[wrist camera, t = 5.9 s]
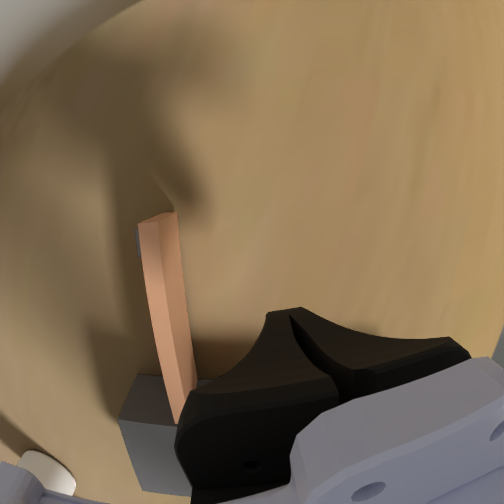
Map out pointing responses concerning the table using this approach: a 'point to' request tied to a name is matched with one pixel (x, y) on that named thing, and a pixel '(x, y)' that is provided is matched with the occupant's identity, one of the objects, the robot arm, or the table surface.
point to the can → (48, 472)
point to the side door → (168, 305)
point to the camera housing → (153, 436)
